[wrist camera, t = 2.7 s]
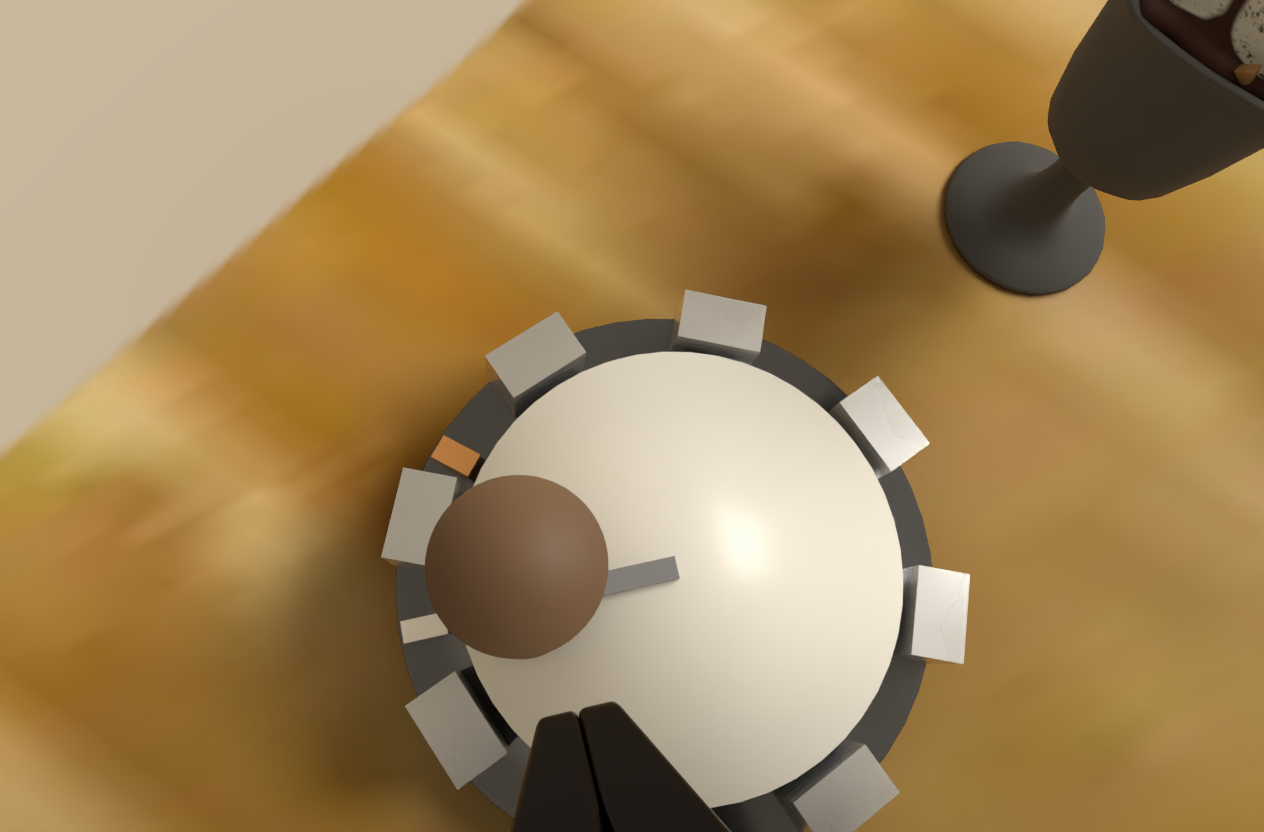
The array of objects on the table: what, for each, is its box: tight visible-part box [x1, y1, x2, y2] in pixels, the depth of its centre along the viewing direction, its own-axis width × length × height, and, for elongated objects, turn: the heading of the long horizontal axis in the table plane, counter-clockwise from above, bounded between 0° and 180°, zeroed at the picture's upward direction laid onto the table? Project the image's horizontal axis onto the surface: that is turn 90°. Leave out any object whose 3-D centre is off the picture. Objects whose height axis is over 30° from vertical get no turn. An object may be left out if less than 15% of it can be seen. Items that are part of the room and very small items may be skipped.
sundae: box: [945, 0, 1264, 295], centre depth 20 cm, size 7×7×15 cm
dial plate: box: [381, 290, 970, 832], centre depth 22 cm, size 13×13×3 cm
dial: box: [425, 352, 903, 808], centre depth 17 cm, size 10×10×10 cm
